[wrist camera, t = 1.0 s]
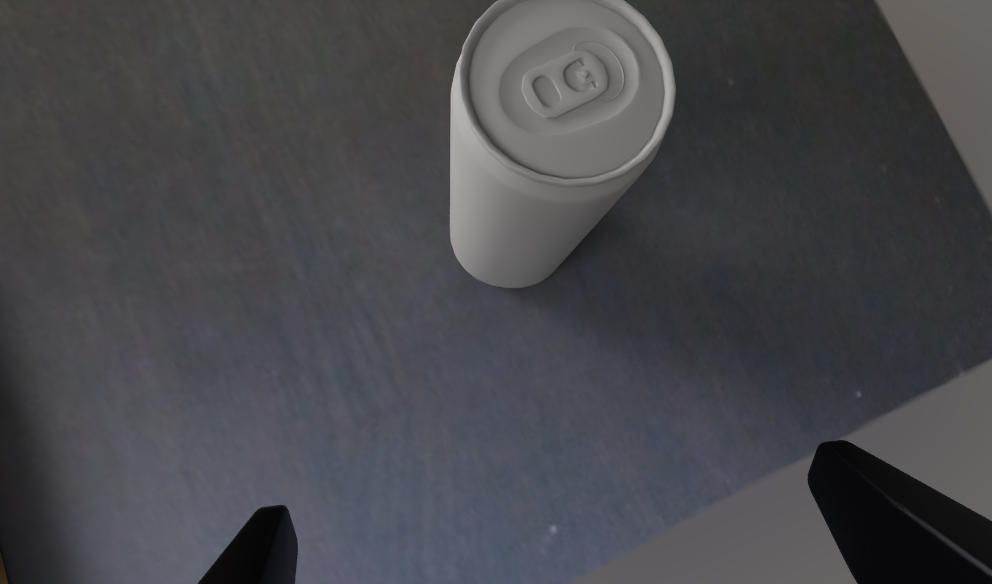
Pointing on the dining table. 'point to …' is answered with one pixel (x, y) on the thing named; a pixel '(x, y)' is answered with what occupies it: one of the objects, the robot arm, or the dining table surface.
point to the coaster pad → (2, 572)
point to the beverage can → (550, 129)
